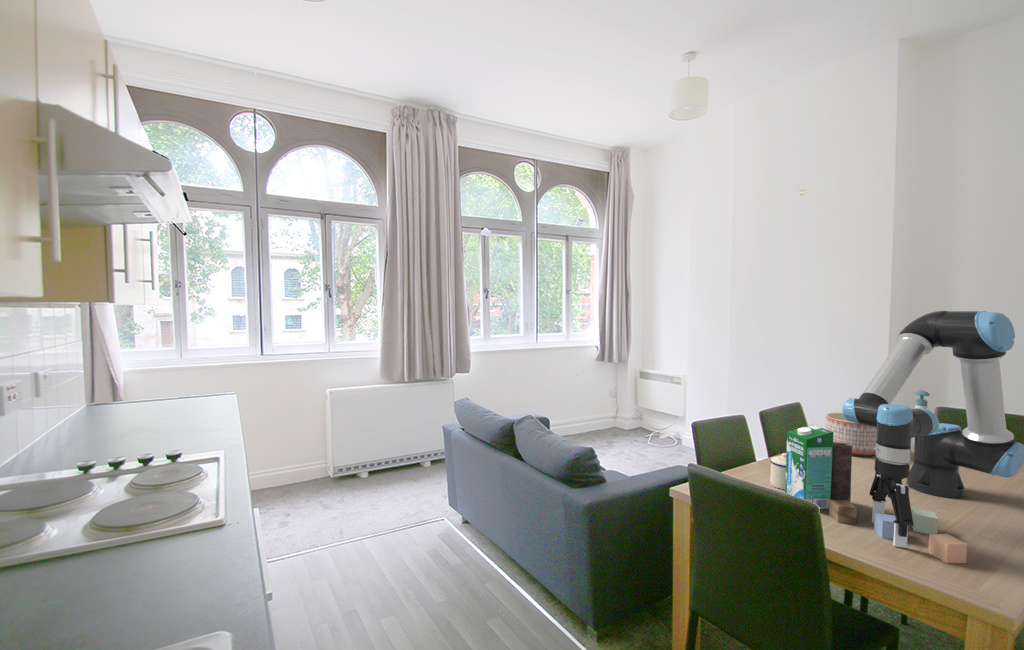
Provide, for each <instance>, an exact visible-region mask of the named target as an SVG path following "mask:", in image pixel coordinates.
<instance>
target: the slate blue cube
mask: <svg viewBox="0 0 1024 650" xmlns="http://www.w3.org/2000/svg"><path fill="white" fill-rule="evenodd" d="M895 520H896V517H895V514H886V513H885V514H879V513H875V524H874V531H875V532H876V533H877V534H878V536H879V537H880V538H882V539H888V540H892V541H893V540H894V522H893V521H895Z"/></svg>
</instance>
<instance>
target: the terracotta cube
mask: <svg viewBox="0 0 1024 650" xmlns="http://www.w3.org/2000/svg"><path fill="white" fill-rule="evenodd" d="M928 535H929V536H928V554H930V555H932V556H934V557H935V558H938V559H939V560H940V561H942V562H944V563H946V564H967V553H968V543H966V542H964V541H962V540H960V539H959V538H956V537H954V536H952V535H951V534H948V533H937V534H928Z"/></svg>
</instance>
